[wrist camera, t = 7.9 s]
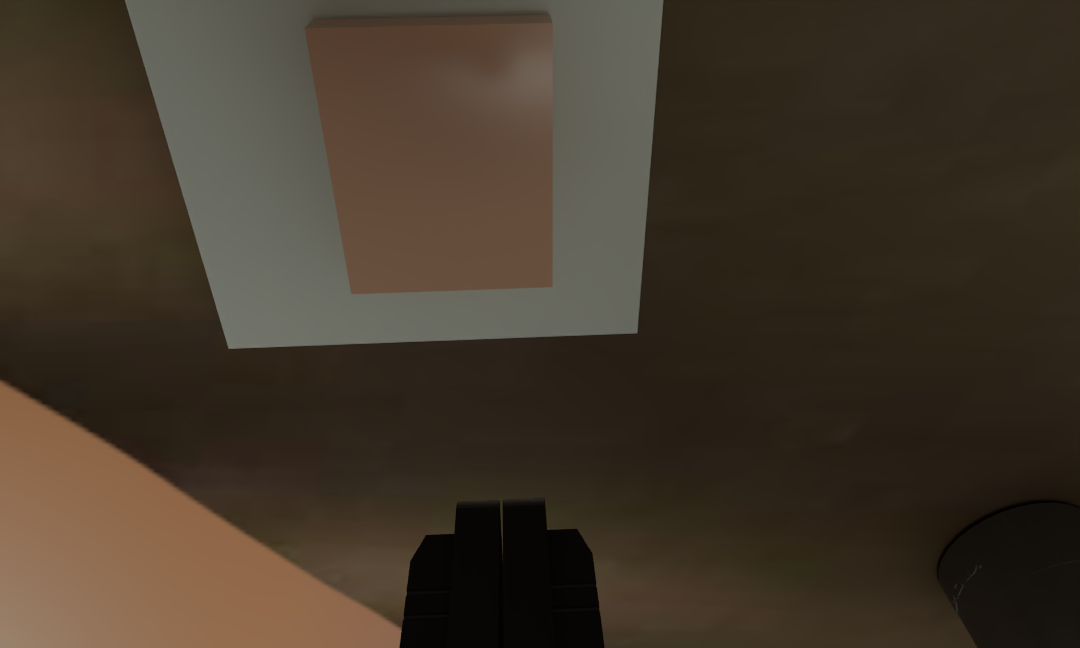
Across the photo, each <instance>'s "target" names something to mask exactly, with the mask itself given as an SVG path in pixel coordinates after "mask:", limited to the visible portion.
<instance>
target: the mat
mask: <svg viewBox="0 0 1080 648" xmlns="http://www.w3.org/2000/svg"><path fill="white" fill-rule="evenodd" d="M125 2H126V6H127V9H128V12H129V16H130V19H131V22H132V26H133V29H134V33H135V36H136V39H137V43H138V46H139V49H140V53H141V56H142V59H143V63H144V66H145V69H146V73H147V76H148V79H149V83H150V86H151V90H152V93H153V96H154V100H155V103H156V106H157V110H158V113H159V116H160V120H161V123H162V126H163V130H164V133H165V136H166V140H167V143H168V147H169V150H170V153H171V157H172V160H173V163H174V167H175V170H176V173H177V177H178V180H179V183H180V187H181V190H182V193H183V197H184V200H185V204H186V207H187V210H188V214H189V217H190V220H191V224H192V227H193V230H194V234H195V237H196V240H197V244H198V247H199V250H200V254H201V257H202V261H203V264H204V267H205V271H206V274H207V277H208V281H209V284H210V287H211V291H212V294H213V297H214V301H215V304H216V307H217V311H218V314H219V318H220V321H221V324H222V328H223V331H224V334H225V338H226V341H227V344H228V348H229V349H232V348H259V347H285V346H311V345H338V344H364V343H391V342H417V341H444V340H470V339H496V338H523V337H549V336H576V335H602V334H629V333H637V330H638V317H639V304H640V291H641V278H642V266H643V253H644V240H645V227H646V215H647V202H648V189H649V176H650V163H651V151H652V138H653V125H654V112H655V100H656V87H657V74H658V61H659V48H660V36H661V23H662V10H663V0H125ZM541 14H550V16H551V19H552V22H553V287H544V288H516V289H487V290H459V291H430V292H402V293H373V294H351V290H350V284H349V278H348V273H347V267H346V261H345V256H344V250H343V244H342V239H341V233H340V227H339V222H338V216H337V210H336V205H335V199H334V193H333V188H332V182H331V176H330V171H329V165H328V159H327V154H326V148H325V142H324V137H323V131H322V125H321V119H320V114H319V108H318V102H317V97H316V91H315V85H314V80H313V74H312V68H311V63H310V57H309V51H308V46H307V40H306V34H305V29H304V28H305V27H306V26H307V25H308V24H309V23H310V22H311V21H312V20H313V19H343V18H392V17H442V16H492V15H541Z"/></svg>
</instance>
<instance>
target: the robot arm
mask: <svg viewBox="0 0 1080 648" xmlns="http://www.w3.org/2000/svg"><path fill="white" fill-rule="evenodd" d="M938 578H939V582H940V584H941V587H942V589H943V590H944V592H945V594H946V595H947V597H948V599H949V600H950V602H951V604H952V606H953V608H954V609H955V611H956V613H957V614H958V615H959V617H960V619H961V620H962V622H963V624H964V625H965V627H966V629H967V630H968V632H969V634H970V636H971V637H972V639H973V641H974V642H975V644H976V646H977V648H1080V508H1078V507H1075V506H1072V505H1069V504H1062V503H1036V504H1030V505H1025V506H1019V507H1016V508H1013V509H1010V510H1007V511H1003V512H1001V513H998V514H996V515H994V516H992V517H990V518H987V519H985V520H983V521H982V522H980V523H978V524H977V525H975V526H973V527H972V528H970V529H969V530H968V531H966V532H965V533H964V534H963V535H961V536H960V537H959V538H958V539H957V540H956V541H955V542H954V543H953V544H952V545H951V546H950V547H949V549H948V550H947V551H946V553H945V555H944V556H943V558H942V560H941V563H940V566H939V569H938ZM400 648H604V640H603V632H602V624H601V617H600V612H599V601H598V593H597V588H596V578H595V570H594V562H593V555H592V552H591V550H590V549H589V547H588V546H587V544H586V543H585V541H584V539H583V538H582V536H581V535H580V533H579V532H578V530H577V529H561V530H547V523H546V508H545V498H534V499H508V500H503V555H502V536H501V517H500V501H499V500H488V501H462V502H457V507H456V520H455V534H441V535H426V536H425V538H424V540H423V541H422V543H421V545H420V546H419V548H418V549H417V551H416V553H415V554H414V556H413V558H412V559H411V561H410V569H409V577H408V585H407V596H406V601H405V609H404V620H403V625H402V632H401V641H400Z"/></svg>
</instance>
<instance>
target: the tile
mask: <svg viewBox="0 0 1080 648" xmlns="http://www.w3.org/2000/svg"><path fill="white" fill-rule="evenodd" d="M304 29H305V34H306V40H307V46H308V51H309V57H310V63H311V68H312V74H313V80H314V85H315V91H316V97H317V102H318V108H319V114H320V119H321V125H322V131H323V137H324V142H325V148H326V154H327V159H328V165H329V171H330V176H331V182H332V188H333V193H334V199H335V205H336V210H337V216H338V222H339V227H340V233H341V239H342V244H343V250H344V256H345V261H346V267H347V273H348V278H349V284H350V290H351V294H373V293H402V292H430V291H459V290H487V289H516V288H544V287H553V22H552V19H551V16H550V14H541V15H492V16H442V17H392V18H343V19H313V20H312V21H311V22H310V23H309V24H308V25H307V26H306V27H305V28H304Z"/></svg>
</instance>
